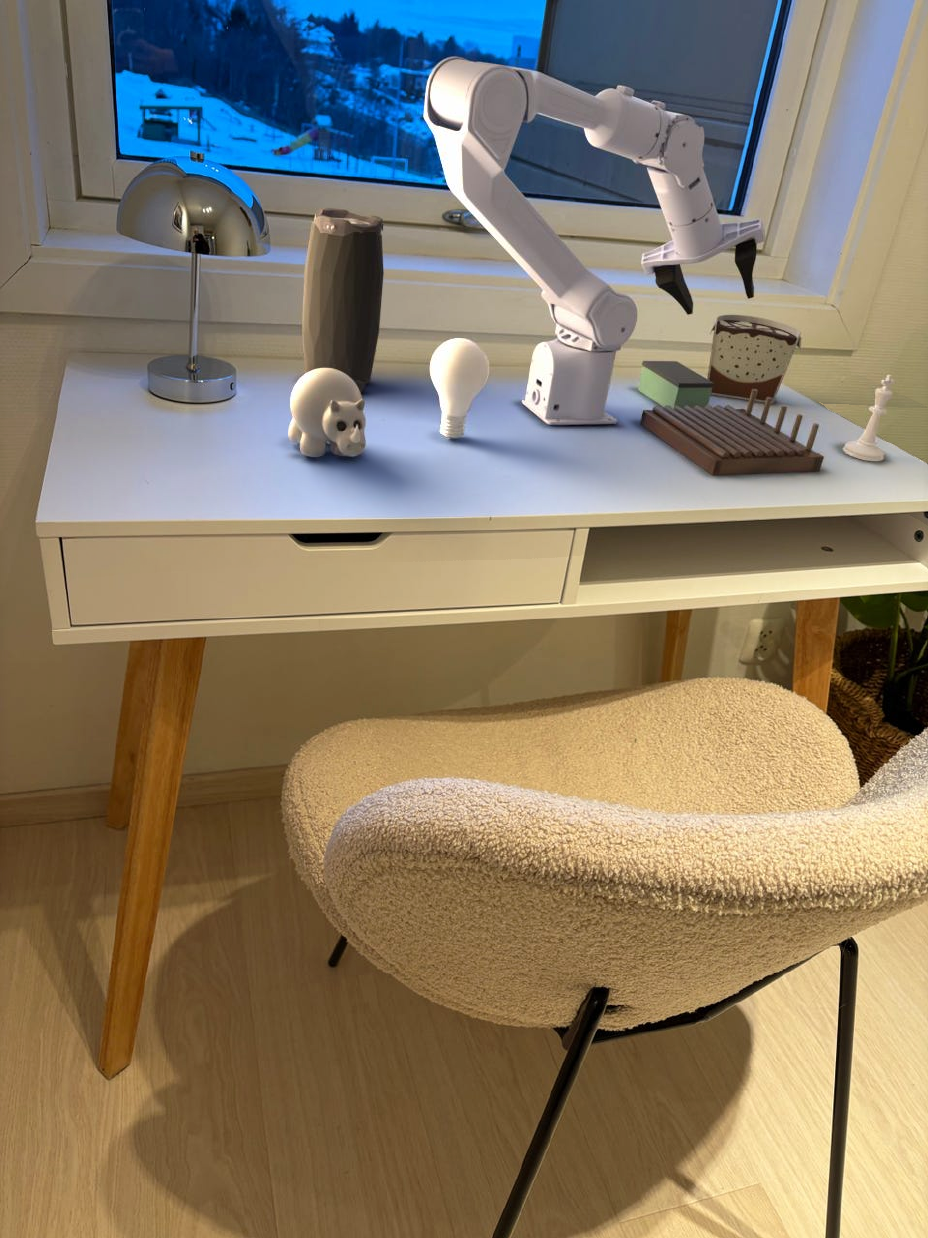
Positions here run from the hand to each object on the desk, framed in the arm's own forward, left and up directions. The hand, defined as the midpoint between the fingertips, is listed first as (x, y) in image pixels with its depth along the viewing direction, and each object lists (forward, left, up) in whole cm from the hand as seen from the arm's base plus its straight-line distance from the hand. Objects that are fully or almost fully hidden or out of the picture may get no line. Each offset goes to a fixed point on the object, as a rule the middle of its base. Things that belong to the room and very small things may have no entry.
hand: (720, 301), depth 128 cm
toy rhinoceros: (-54, -15, -14) cm, 58 cm away
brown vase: (-47, +8, -14) cm, 49 cm away
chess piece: (+13, -18, -14) cm, 26 cm away
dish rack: (-5, -15, -14) cm, 20 cm away
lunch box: (-3, +1, -14) cm, 14 cm away
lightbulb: (-39, -10, -14) cm, 42 cm away
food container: (+10, +5, -14) cm, 18 cm away
